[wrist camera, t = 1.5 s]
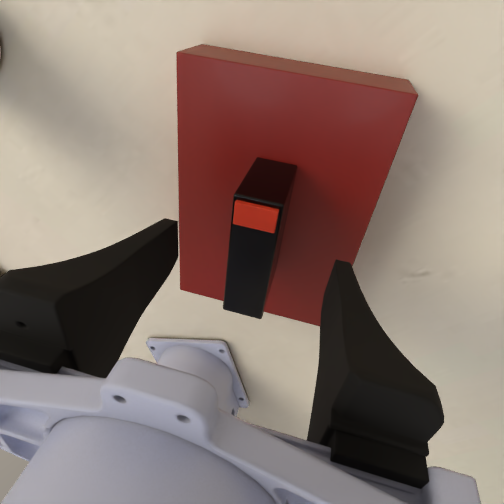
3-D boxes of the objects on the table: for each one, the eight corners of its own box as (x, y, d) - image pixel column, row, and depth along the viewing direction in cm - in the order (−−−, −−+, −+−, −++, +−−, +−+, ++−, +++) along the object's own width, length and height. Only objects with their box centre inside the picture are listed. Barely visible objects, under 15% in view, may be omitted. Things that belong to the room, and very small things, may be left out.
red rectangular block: (331, 296, 24) (328, 328, 22) (196, 262, 26) (179, 289, 23) (409, 79, 16) (418, 94, 13) (200, 43, 17) (176, 51, 15)
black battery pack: (275, 269, 20) (260, 323, 17) (242, 261, 20) (220, 313, 17) (298, 164, 16) (283, 208, 13) (256, 156, 16) (231, 196, 13)
